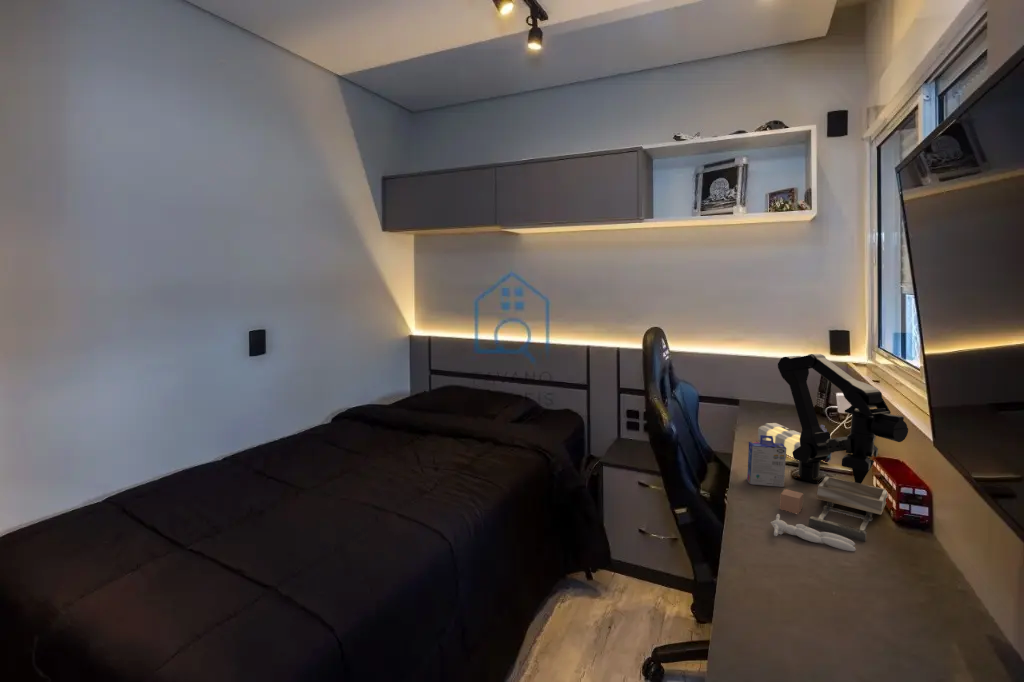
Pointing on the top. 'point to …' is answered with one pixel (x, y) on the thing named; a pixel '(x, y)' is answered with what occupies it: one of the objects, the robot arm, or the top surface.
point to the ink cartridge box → (766, 462)
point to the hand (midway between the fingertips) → (857, 484)
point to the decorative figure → (813, 535)
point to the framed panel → (839, 528)
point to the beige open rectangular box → (852, 495)
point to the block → (791, 501)
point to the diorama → (784, 437)
